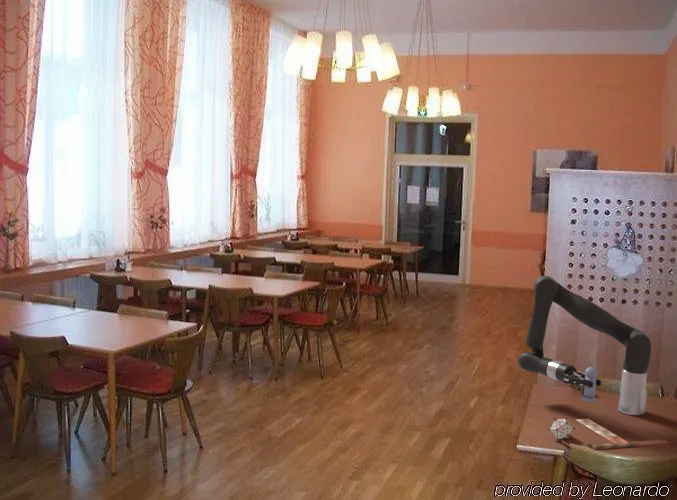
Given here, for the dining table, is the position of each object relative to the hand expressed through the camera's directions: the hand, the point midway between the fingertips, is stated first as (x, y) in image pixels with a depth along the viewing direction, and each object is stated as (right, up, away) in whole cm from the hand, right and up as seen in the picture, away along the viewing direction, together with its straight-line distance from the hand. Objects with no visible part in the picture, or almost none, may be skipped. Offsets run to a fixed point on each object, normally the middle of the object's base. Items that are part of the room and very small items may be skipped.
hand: (596, 384), depth 273 cm
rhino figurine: (+10, -12, +47) cm, 49 cm away
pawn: (-2, -7, +3) cm, 8 cm away
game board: (-3, -18, -5) cm, 18 cm away
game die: (-17, -18, -12) cm, 28 cm away
